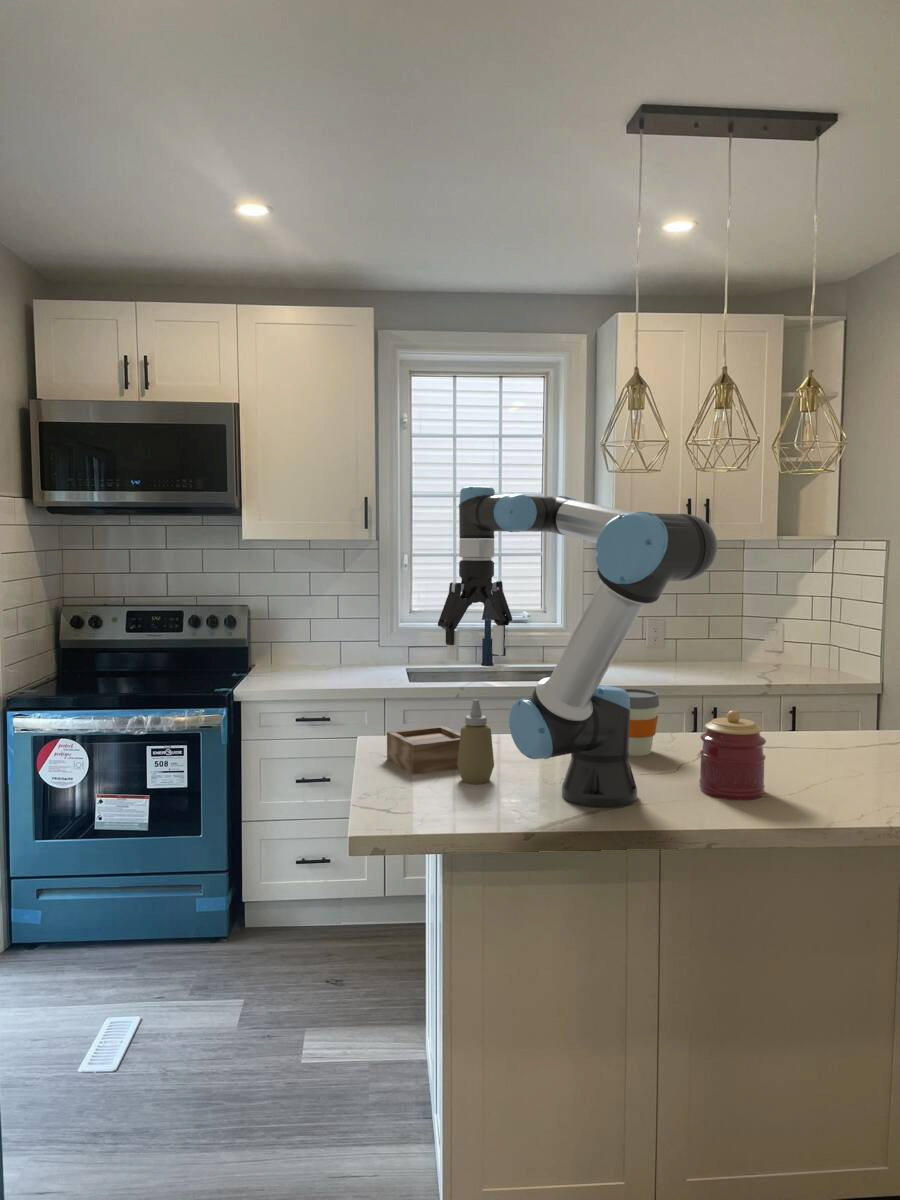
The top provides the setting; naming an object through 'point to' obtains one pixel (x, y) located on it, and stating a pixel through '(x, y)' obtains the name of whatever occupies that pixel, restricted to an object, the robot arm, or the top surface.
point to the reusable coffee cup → (642, 720)
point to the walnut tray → (424, 749)
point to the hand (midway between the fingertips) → (475, 657)
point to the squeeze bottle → (475, 748)
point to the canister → (732, 759)
